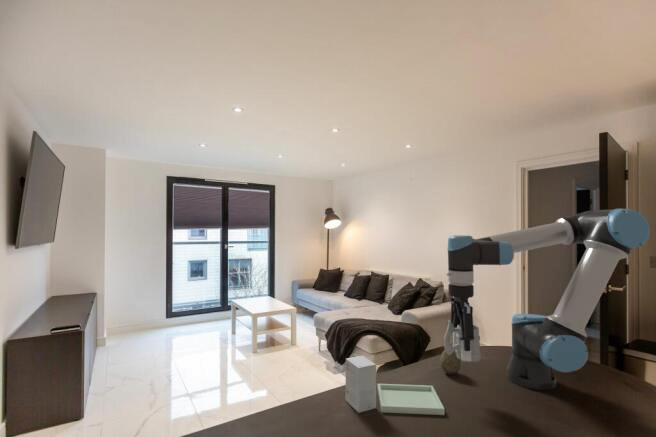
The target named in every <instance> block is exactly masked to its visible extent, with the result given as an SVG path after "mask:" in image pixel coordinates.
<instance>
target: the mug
mask: <svg viewBox="0 0 656 437" xmlns="http://www.w3.org/2000/svg"><path fill="white" fill-rule="evenodd" d="M479 328H480V327H478V326H477V325H476V324H473V330H474V340H471V361H467V362H469V363H473V362H474V363H475V362H476V363H477V362H479V361H481V357H482V351H481V347H480V346H481V345H480V343H481V342H480V341H481V336H480V330H479ZM453 332H457V334H456V338H457V344H455V345H453V344H451V340H450V339H451V336H453ZM460 338H462V331H461V324H459V325H457V328H454V326H453V324H452V322H451V319H450V320H449V319H448V320H447V327H446V331H445V334H444V337H443V340H442V341H443V347H444V350H446V351H447V354H448V355H451V354H452V352H454V351H455V350H456V354H457V358H458V359H460V360H461V361H462V358H461V340H460Z"/></svg>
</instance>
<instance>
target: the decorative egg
mask: <svg viewBox="0 0 656 437" xmlns="http://www.w3.org/2000/svg"><path fill="white" fill-rule="evenodd" d="M461 366H462V360H460V359H458V358H457V354H456V351H454V352H452V354H451V355H448V354H447V351H446V350H445V349H443V351H442V353H441V355H440V367H441V369H442V370H443V371H444V373H446V374H448V375H455V374H457V373H459V371H460V369H461Z"/></svg>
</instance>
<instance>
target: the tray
mask: <svg viewBox="0 0 656 437" xmlns="http://www.w3.org/2000/svg"><path fill="white" fill-rule="evenodd" d="M376 391H377V394H378V399H379V400H378V401H379V405H380V410H381V413H386V414H387V413H388V414H391V413H392V414H409V415H411V414H413V415H431V416H432V415H435V416H436V415H438V416H445V412H446V411H445V407H444V405H443V403H442V402H441V400H440V397H439V396H438V394H437V391H436V390H435V388H434V385H425V384H424V385H423V384H420V385H419V384H400V383H398V384H397V383H390V384H389V383H376Z"/></svg>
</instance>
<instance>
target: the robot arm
mask: <svg viewBox="0 0 656 437" xmlns="http://www.w3.org/2000/svg"><path fill="white" fill-rule="evenodd" d="M647 221H648V220H647V219H646V217H645V215H643V214H642V213H640V212H639V211H637V210H636V209H635V210H634V209H629V208H615V209H613V208H612V209H593V210H588V211H584V212H580V213H576V214H573V215H569V216H567V217H562V218H557V219H556V221H555V222H552V223H548V224H542V225H537V226H534V227H533V226H532V227H529V228H524V229H523V228H522V229H518V230H515V231H514V230H513V231H509V232H504V233H499V234H495V235H489V236H486V237H482V238H477V239H475V238H474V237H473V235H450V236H449V237H448V240H447V261H448V262H447V265H448V266H447V268H448V273H446V276H447V277H448V282H449V284H448V288H447V289H448V295H449V296H450V304H451V305H450V321H451V322H452V324H453V326H454V328H457V325H459V324H461V331H462V338H460V340H461V358H462V360H461V362H468V361H471V340H474V330H473V325H474V319H473V315H474V314H473V309H474V308H473V306H471V305H470V302H469V298H471V299H472V298H474V295H475V294H474V293H475V292H474V291H475V290H474V287H475V286H474V285H473V284H474V282H475V280H474V279H475V278H474V277H475V275H474V272H475V271H474V266H479V265H480V266H481V265H482V266H504V265H505V266H507V265H510V264H511V263H512V262H513V261H514V256H515V255H514V254H517V253H521V252H527V251H531V250H534V249H535V250H536V249H541V248H544V247H545V248H546V247H551V246H554V245H560V244H563V245H564V246H565V245H566V246H569V245H575V244H583V245H584V246H585V248H586V249H585V251H584V253H583V255H582V256H581V259H580V261H579V263H578V264H577V267H576V268H575V270H574V272H573V274H572V277H571V279H570V281H569V282H568V284H567V286H566V288H565V290H564V292H563V295H562V296H561V298H560V300H559V303H558V305H556V308H555V310H554V312H553V314H549V315H540V314H531V313H516V314H514V315H513V316H512V319H511V357H510V359H509V361H508V362H509V363H508V364H507V367H506V378H507V379H508V380H509V381H510V382H513V383H514V384H515V385H516V384H517V385H518V386H521V387H524V388H528V389H532V390H536V391H537V390H539V391H549V390H554V389H555V388H556V387H557V379H556V375H555V371H554V370H556V371H557V372H560V373H561V372H562V373H571V372H576V371H579V370H580V369H581V368H583V367H584V365H585V364H586V363H587V361H588V358H589V351H588V347H587V345H586V344H585V342H586V340H587V339H588V334H587V333H586V331H585V329H586V326H587V324H588V323H589V320H590V319H591V316H592V314H593V313H594V311H595V308H596V307H597V304H598V303H599V300H600V298H601V297H602V295H603V293H604V291H605V288H606V286H607V284H608V283H609V280H610V279H611V277H612V275H613V272H615V268H616V267H617V265H618V263H619V261H620V260H623V259H628V257H629V255H630V254H631V252H632V249H634V248H639V247H641V246H644V245H645V244H646V243H647V241H649V240H648V239H649V237H650V235H651V234H650V233H651V228H650V225H649V223H648V222H647ZM456 334H457V332H453V334H452V346H453V345H455V344H457V338H456ZM455 351H456V350H455Z"/></svg>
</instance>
